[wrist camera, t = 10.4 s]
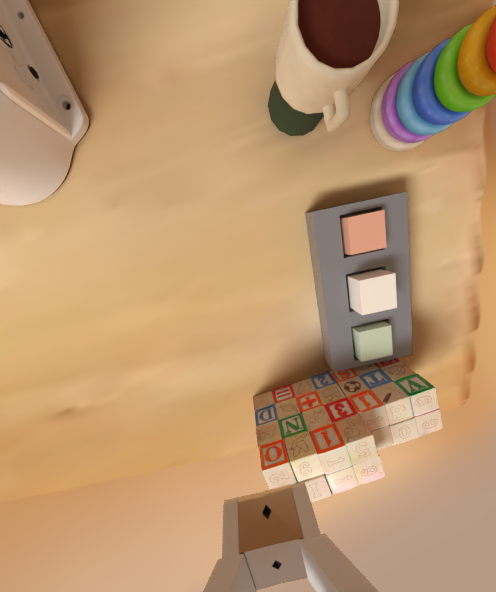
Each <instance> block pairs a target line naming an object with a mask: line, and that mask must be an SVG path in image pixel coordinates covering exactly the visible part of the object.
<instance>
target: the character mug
mask: <svg viewBox="0 0 496 592" xmlns="http://www.w3.org/2000/svg"><path fill="white" fill-rule="evenodd" d="M398 13H399V0H290V3H289V6H288V10H287V14H286V18H285V22H284V26H283V30H282V34H281V38H280V42H279V46H278V50H277V54H276V57H275V72H276V80H275V82H274V84H273V87H272V89H271V92H270V97H269V103H268V107H269V112H270V117H271V120H272V121H273V123H274V124H275V125H276V127H277V128H278V129H279V130H280V131H282V132H284V133H286V134H288V135H290V136H298V135H305V134H306V133H308V132H310V131H312V130H314V128H315V127H316V125H317V124H318V123H319V121H320V120H321V118H322V116H323V115H324V120H325V125H326V129H327V131H329V132H334V131H335V130H336V129H337V128H338V127H339V126H340V125H341V124H343V123H344V122H345V121H346V120H347V119H348V117H349V115H350V107H349V100H348V96H349V95H350V94H351V93H352V92H353V91H354V89H355V88H356V87H357V86H358V85H359V84H360V82H361V81H362V80H363V79H364V78H365V77H366V75H367V74H368V72H369V71H370V69H371V67H372V66H373V65H374V63H375V62H376V61H377V60H378V59H379V57H380V56H381V55H382V54H383V52H384V51H385V49H386V48H387V46H388V44H389V41H390V39H391V37H392V34H393V32H394V30H395V27H396V25H397V19H398ZM335 107H336V111H335Z"/></svg>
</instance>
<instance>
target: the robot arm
mask: <svg viewBox="0 0 496 592" xmlns="http://www.w3.org/2000/svg"><path fill="white" fill-rule="evenodd" d="M68 104H71V108H70V109H69V110H67V105H68ZM88 126H89V119H88V116H87V114H86V112H85V110H84V108H83V106H82V104H81V102H80V100H79V98H78V96H77V94H76V92H75V90H74V88H73V86H72V84H71V82H70V80H69V79H68V77H67V75H66V73H65V71H64V69H63V67H62V65H61V63H60V61H59V59H58V57H57V55H56V53H55V51H54V49H53V47H52V45H51V43H50V42H49V40H48V38H47V36H46V34H45V32H44V30H43V28H42V26H41V24H40V22H39V20H38V18H37V16H36V14H35V12H34V10H33V8H32V6H31V4H30V3H29V1H28V0H0V204H5V205H15V206H17V205H28V204H32V203H36V202H39V201H41V200H43V199H45V198H47V197H48V196H50V195H51V194H52V193H53V192H54V191H55V190H57V188H58V187H59V186H60V185H61V183H62V182H63V180H64V179H65V177H66V175H67V172H68V170H69V167H70V163H71V158H72V154H73V150H74V148H75V145H76V144H77V143H78V142H79V140H80V139H81V138H82V137H83V135H84V134H85V132H86V131H87V129H88ZM304 578H308V580H309V582H310V583H311V585H312V586H313V587H314V589H315V590H316V592H378V591H377V589H376V588H375V587H374V586H373V585H372V584H371V583H370V582H369V581H368V580H367V579H366V578H365V576H364V575H363V574H362V573H361V572H360V571H359V570H358V569H357V568H356V567H355V566H354V565H353V564H352V562H351V561H350V560H349V559H348V558H347V557H346V556H345V555H344V554H343V553H342V552H341V551H340V550H339V548H338V547H337V546H335V544H334V543H333V542H332V541H331V540H330V539H329V538H328V537H327V535H325V534H320V531H319V528H318V524H317V521H316V518H315V514H314V511H313V508H312V504H311V501H310V498H309V494H308V491H307V488H306V484H305V482H304V481H303V482H299V483H296V484H292V485H290V484H289V485H286V486H282V487H278V488H274V489H270V490H267V491H264V492H260V493H256V494H251V495H247V496H242V497H237V498H233V499H229V500H225V501H224V505H223V545H222V559H219V560H218V561H217V563H216V565H215V567H214V569H213V572H212V574H211V576H210V578H209V580H208V582H207V585H206V587H205V589H204V591H203V592H256V590H259V589H263V588H266V587H270V586H273V585H277V584H281V583H285V582H290V581H295V580H299V579H304Z"/></svg>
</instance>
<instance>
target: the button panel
mask: <svg viewBox="0 0 496 592" xmlns="http://www.w3.org/2000/svg"><path fill="white" fill-rule="evenodd" d="M379 210H385V228H386V245H387V248H382V249H377V250H373V251H368V252H363V253H359V254H354V255H348V254H343V244H342V235H341V225H340V218H343V217H347V216H352V215H357V214H362V213H366V212H371V211H379ZM305 215H306V222H307V230H308V237H309V244H310V252H311V259H312V266H313V273H314V281H315V288H316V295H317V303H318V310H319V317H320V324H321V332H322V339H323V346H324V354H325V361H326V362H327V364H328V365H329V366H330V368H331V369H332V371H333V372H336V371H341V370H345V369H350V368H355V367H359V366H364V365H368V364H373V363H377V362H382V361H387V360H391V359H396V358H400V357H405V356H410V355H413V349H412V320H411V290H410V261H409V231H408V202H407V192H403V193H398V194H393V195H389V196H384V197H379V198H375V199H370V200H365V201H361V202H356V203H351V204H346V205H342V206H337V207H332V208H328V209H323V210H318V211H314V212H309V213H305ZM378 269H382V270H386V271H390V272H393V273H395V274H396V294H397V308H394V309H389V310H385V311H380V312H375V313H371V314H366V315H361V314H359V313H358V312H356V311H355V310H353V309H352V308H350V298H349V288H348V278H347V276H350V275H355V274H360V273H364V272H369V271H374V270H378ZM380 320H383V321H385V322H386V323H388V324H390V325H391V331H392V348H393V355H390V356H386V357H381V358H377V359H372V360H368V361H363V362H361V361H360V360H359V359H358V358H357V357H356V356H355V355H354V351H353V342H352V332H351V327H353V326H357V325H362V324H367V323H371V322H376V321H380Z"/></svg>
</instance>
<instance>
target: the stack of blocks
mask: <svg viewBox="0 0 496 592" xmlns="http://www.w3.org/2000/svg"><path fill="white" fill-rule="evenodd" d="M253 402H254V410H255V419H256V434H257V443H258V448H259V450H260V458H261V467H262V473H263V475H264V477H265V479H266V482H267V484H268V487H269V489H274V488H278V487H282V486H286V485H289V484H290V485H292V484H296V483H299V482H303V481H304V482H305V484H306V488H307V491H308V494H309V498H310V501H311V502H315V501H317V500H321V499H323V498H326V497H329V496H332V494H336V493H340V492H342V491H346V490H348V489H351V488H354V487H357V486H358V485H362V484H365V483H368V482H370V481H373V480H376V479H379V478H382V477H385V473H384V469H383V466H382V463H381V459H380V456H379V454H378V451H377V450H380V449H383V448H386V447H389V446H392V445H396V444H399V443H402V442H405V441H408V440H411V439H414V438H417V437H419V436H422V435H425V434H428V433H431V432H434V431H437V430H440V429H442V428H443V426H442V420H441V414H440V409H439V406H438V400H437V394H436V389H435V387H434V386H433V385H431V384H430V383H429V382H428V381H426V380H425V379H424V378H422V377H421V376H420V375H419V374H416V373H415V372H413V371H412V370H411V369H410V368H409V367H407V366H406V365H405V364H404V363H402V362H400V361H399V360H398V359H397V358H396V359H391V360H387V361H382V362H377V363H373V364H368V365H364V366H359V367H355V368H350V369H345V370H341V371H336V372H333V371H332V370H331V371H330V372H326V373H323V374H320V375H317V376H314V377H311V378H309V379H306V380H303V381H300V382H297V383H294V384H290V385H287V386H284V387H281V388H278V389H275V390H272V391H269V392H266V393H263V394H260V395H257V396H254V397H253Z"/></svg>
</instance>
